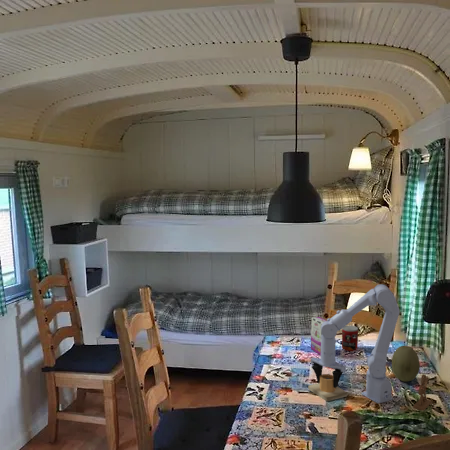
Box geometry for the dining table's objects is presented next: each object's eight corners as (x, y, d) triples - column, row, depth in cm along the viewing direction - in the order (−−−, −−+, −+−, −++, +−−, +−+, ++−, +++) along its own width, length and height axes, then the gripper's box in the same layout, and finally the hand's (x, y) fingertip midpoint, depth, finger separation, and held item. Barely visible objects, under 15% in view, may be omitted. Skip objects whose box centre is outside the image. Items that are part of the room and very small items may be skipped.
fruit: (421, 387, 198) (422, 351, 196) (393, 384, 200) (394, 350, 199) (416, 375, 209) (417, 342, 207) (389, 374, 211) (390, 340, 210)
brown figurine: (423, 411, 177) (424, 379, 176) (412, 407, 180) (413, 377, 179) (431, 402, 184) (433, 372, 183) (421, 399, 187) (422, 369, 185)
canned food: (340, 350, 240) (340, 329, 239) (344, 345, 247) (344, 324, 246) (355, 352, 237) (356, 331, 236) (359, 347, 244) (359, 326, 243)
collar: (337, 388, 193) (337, 376, 193) (330, 393, 189) (330, 381, 188) (324, 384, 197) (324, 372, 196) (317, 389, 192) (317, 377, 192)
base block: (347, 396, 190) (347, 392, 190) (326, 401, 185) (326, 397, 185) (328, 384, 200) (328, 381, 200) (308, 389, 196) (308, 385, 196)
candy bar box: (330, 355, 233) (331, 322, 232) (321, 356, 232) (321, 323, 230) (319, 347, 244) (319, 316, 242) (310, 349, 242) (310, 317, 241)
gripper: (349, 353, 190) (348, 386, 191) (317, 344, 199) (316, 376, 200) (341, 358, 184) (340, 392, 186) (308, 349, 194) (307, 382, 195)
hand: (327, 384), depth 193 cm, fingers open, 7 cm apart
